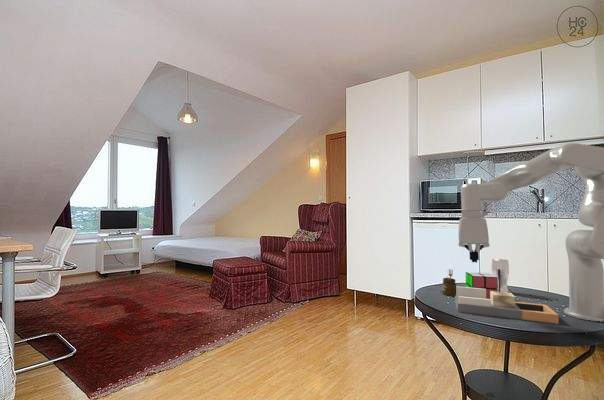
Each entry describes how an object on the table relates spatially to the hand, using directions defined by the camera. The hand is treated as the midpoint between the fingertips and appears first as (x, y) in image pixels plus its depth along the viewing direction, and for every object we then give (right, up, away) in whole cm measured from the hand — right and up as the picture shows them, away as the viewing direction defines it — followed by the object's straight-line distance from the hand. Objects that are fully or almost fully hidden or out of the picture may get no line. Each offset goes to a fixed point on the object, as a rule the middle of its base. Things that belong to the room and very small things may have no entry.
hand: (474, 261), depth 122 cm
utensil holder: (0, -19, +20) cm, 28 cm away
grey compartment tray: (+8, -18, -4) cm, 20 cm away
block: (+8, -15, -4) cm, 18 cm away
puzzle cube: (+13, -19, +17) cm, 29 cm away
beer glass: (+27, -20, +27) cm, 43 cm away
